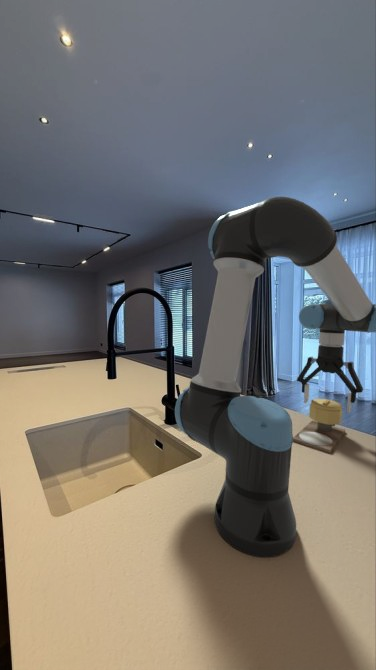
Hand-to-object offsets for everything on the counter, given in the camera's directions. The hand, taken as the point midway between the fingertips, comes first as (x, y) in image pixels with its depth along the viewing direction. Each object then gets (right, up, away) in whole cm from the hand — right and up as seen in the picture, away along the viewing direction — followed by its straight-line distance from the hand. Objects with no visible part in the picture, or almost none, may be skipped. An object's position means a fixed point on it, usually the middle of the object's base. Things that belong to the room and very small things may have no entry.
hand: (326, 406), depth 96 cm
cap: (0, -4, 0) cm, 4 cm away
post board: (-4, -9, -3) cm, 10 cm away
